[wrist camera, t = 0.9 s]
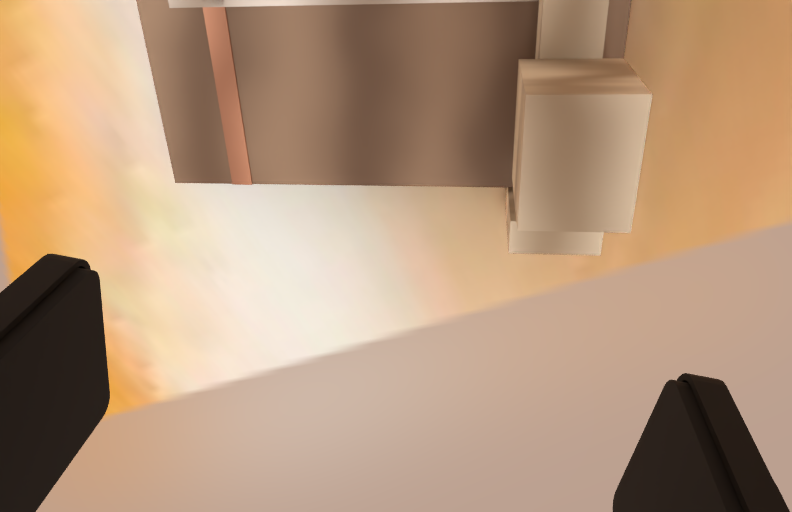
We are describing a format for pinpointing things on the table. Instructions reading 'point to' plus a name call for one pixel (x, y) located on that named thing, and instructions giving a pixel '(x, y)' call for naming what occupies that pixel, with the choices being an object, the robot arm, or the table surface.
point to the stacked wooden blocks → (574, 136)
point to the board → (344, 88)
